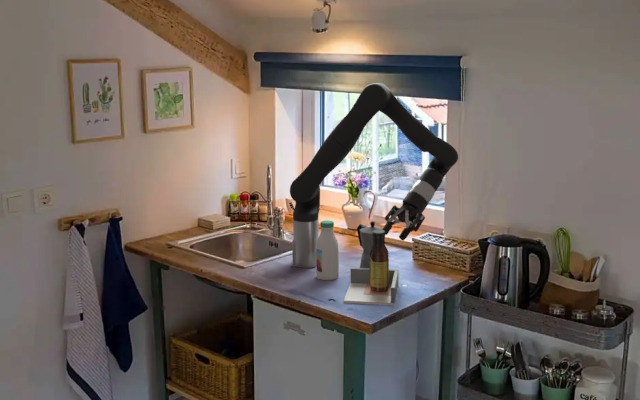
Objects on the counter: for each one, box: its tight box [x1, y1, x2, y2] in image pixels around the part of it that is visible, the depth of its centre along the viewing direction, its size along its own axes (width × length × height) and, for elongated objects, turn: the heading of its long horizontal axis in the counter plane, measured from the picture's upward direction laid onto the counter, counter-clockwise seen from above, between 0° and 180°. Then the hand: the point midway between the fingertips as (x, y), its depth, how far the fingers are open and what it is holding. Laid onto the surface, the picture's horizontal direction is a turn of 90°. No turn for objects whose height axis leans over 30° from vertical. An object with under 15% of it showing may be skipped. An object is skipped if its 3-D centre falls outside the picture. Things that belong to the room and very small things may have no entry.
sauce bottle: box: [370, 230, 390, 292], centre depth 237 cm, size 6×6×20 cm
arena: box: [343, 267, 400, 306], centre depth 237 cm, size 16×18×6 cm
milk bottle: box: [315, 219, 340, 281], centre depth 253 cm, size 8×8×20 cm
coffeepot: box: [356, 221, 384, 268], centre depth 261 cm, size 15×9×18 cm, turn 34°
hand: (392, 236), depth 239 cm, fingers open, 8 cm apart
